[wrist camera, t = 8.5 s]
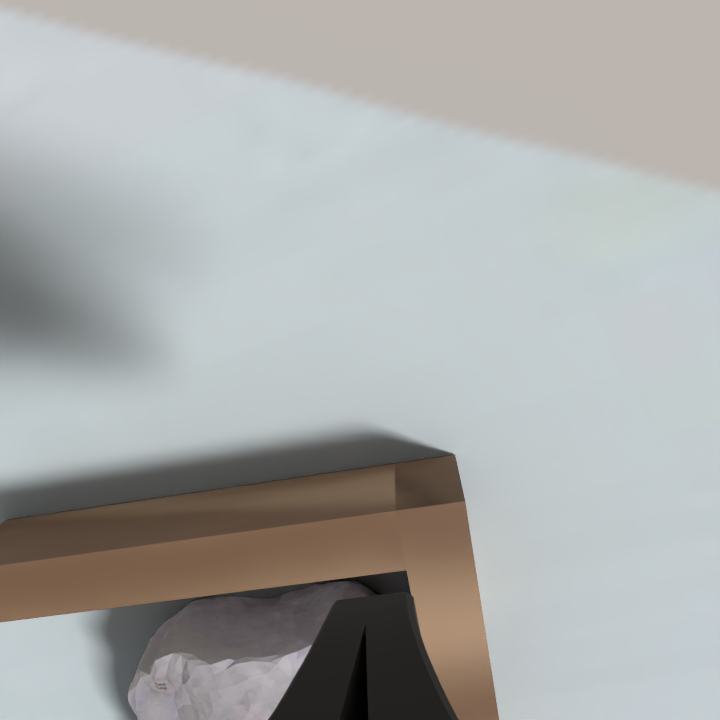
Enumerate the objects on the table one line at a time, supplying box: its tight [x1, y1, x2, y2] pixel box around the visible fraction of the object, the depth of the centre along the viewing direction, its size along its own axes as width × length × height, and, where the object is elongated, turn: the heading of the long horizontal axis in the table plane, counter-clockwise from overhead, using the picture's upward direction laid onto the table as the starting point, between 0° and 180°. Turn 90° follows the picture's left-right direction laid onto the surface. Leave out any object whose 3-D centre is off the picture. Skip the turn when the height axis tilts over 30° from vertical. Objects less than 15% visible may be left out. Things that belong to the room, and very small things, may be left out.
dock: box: [0, 455, 499, 720], centre depth 22 cm, size 16×16×3 cm
